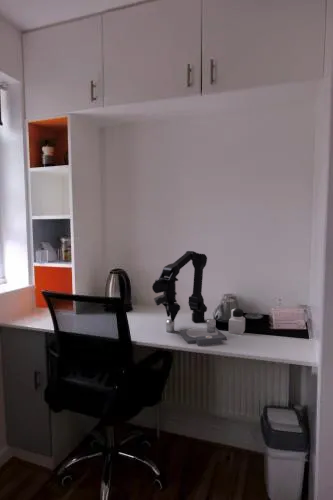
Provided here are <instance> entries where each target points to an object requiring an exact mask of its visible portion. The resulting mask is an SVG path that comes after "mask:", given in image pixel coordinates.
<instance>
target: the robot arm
mask: <svg viewBox="0 0 333 500" xmlns="http://www.w3.org/2000/svg"><path fill="white" fill-rule="evenodd" d="M190 261H191V263H192V264H191V265H192V266H193V268H194V269H193V271H194V273H193V285H192V286H193V287H192V294H191V295H190V296H188V302H187V303H188V306H189V310H190V311H192V313H191V320H192V322H193V323H195V324H198V323H199V324H200V323H206V320H205V313H206V312H207V311H208V306H206V304H205V303H204V302H205V299H204V296H203V295H202V292H203V291H202V288H203V278H204V276H203V275H204V269H205V267H206V266H207V262H208V257H207V255H206V254H205V253H199V252H196V251H194V250H187V251H185V253H184V254H183V255H181V256H180V257H179V258H178V259H176V261H174V262H173V263H169V264H167V265H165V266H164V267H162V271H161V273H160V275H159V277H158V279H155V280H154V282H153V284H152V286H151V288H152V291H153V293H155V294H160V293H163V294H161V295H159V296H156V297H154V298H153V300H154V301H153V302H154V303H155V305H156V306H157V307H158V306H160V305H161V304H162V306H164V308H165V312H166V316H167V317H168V318H170V319H171V322H174V323H175V319H176V317H177V315H178V313H179V311H180V310H181V305H180V304H179V303H178V302H177V301H178V300H177V299H176V296H177V295H178V293H177V292H176V282H178V281H179V279H178V278H177V276H178V275H179V274H180V272H181V269H182V268H184V267H185V266H186V265H187V264H188V263H190Z"/></svg>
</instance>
